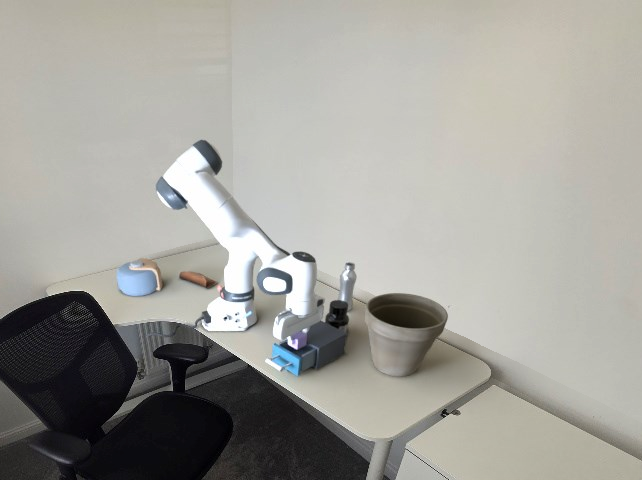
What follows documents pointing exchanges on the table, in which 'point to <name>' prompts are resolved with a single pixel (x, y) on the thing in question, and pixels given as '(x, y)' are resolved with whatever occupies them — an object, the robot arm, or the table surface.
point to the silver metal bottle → (347, 284)
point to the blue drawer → (292, 357)
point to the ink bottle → (338, 315)
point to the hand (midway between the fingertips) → (297, 340)
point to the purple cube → (299, 340)
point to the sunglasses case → (197, 278)
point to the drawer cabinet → (326, 342)
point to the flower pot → (402, 330)
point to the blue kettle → (139, 277)
